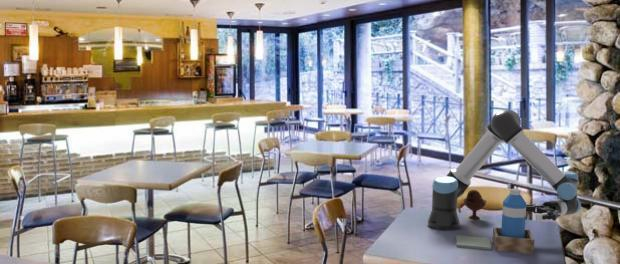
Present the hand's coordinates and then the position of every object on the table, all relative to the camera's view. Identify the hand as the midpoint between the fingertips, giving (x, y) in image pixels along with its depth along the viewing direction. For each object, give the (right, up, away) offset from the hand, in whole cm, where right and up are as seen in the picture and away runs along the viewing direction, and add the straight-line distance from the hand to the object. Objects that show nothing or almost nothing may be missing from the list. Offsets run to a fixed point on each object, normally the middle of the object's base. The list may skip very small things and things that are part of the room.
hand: (522, 214), depth 231 cm
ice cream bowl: (-7, -9, +45) cm, 47 cm away
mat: (-20, -13, +4) cm, 24 cm away
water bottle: (-5, -14, 0) cm, 15 cm away
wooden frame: (-5, -14, 0) cm, 15 cm away
